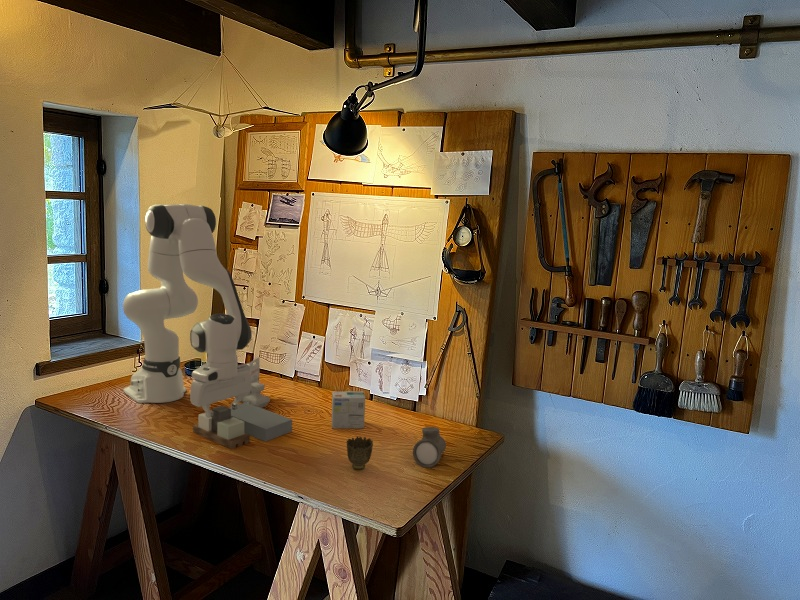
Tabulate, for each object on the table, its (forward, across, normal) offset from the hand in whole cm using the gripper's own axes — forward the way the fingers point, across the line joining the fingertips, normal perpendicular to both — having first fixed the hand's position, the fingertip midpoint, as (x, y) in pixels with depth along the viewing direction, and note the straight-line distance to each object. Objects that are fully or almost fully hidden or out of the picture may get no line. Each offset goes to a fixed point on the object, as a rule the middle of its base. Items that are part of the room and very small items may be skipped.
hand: (222, 413), depth 188 cm
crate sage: (+6, 0, +4) cm, 7 cm away
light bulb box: (+8, -34, +20) cm, 41 cm away
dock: (+8, -12, 0) cm, 15 cm away
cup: (+9, -12, +43) cm, 46 cm away
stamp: (+8, -24, -12) cm, 29 cm away
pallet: (+8, 0, -1) cm, 8 cm away
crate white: (+6, 0, -5) cm, 8 cm away
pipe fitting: (+9, -31, +56) cm, 64 cm away
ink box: (+8, -29, -22) cm, 37 cm away
